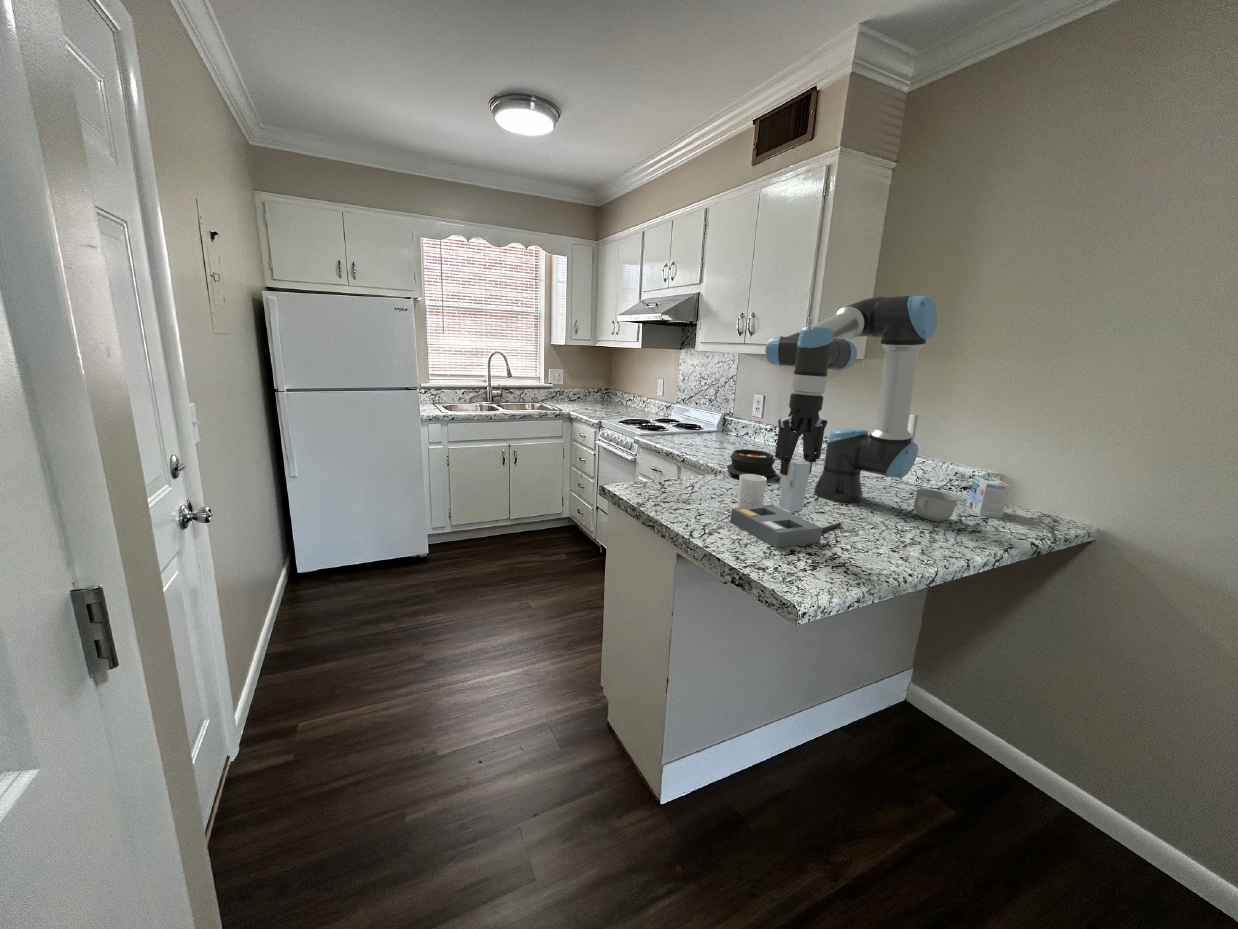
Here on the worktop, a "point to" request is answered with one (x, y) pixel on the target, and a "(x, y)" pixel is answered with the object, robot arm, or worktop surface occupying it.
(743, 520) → the panel
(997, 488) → the light bulb box
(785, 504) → the plug
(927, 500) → the teacup
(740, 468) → the casserole
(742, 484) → the white cup
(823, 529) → the patch cord
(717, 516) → the worktop surface
